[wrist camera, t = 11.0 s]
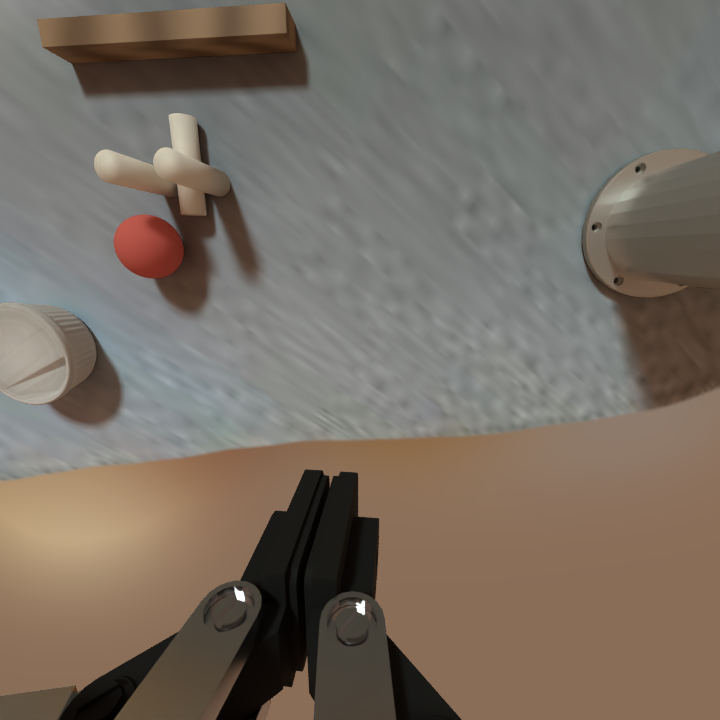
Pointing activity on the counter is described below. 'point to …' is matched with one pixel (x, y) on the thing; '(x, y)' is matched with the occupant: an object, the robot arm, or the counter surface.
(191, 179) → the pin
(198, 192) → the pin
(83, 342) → the ramekin
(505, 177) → the counter surface
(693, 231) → the robot arm
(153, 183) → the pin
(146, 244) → the ball
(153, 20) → the walnut rail
